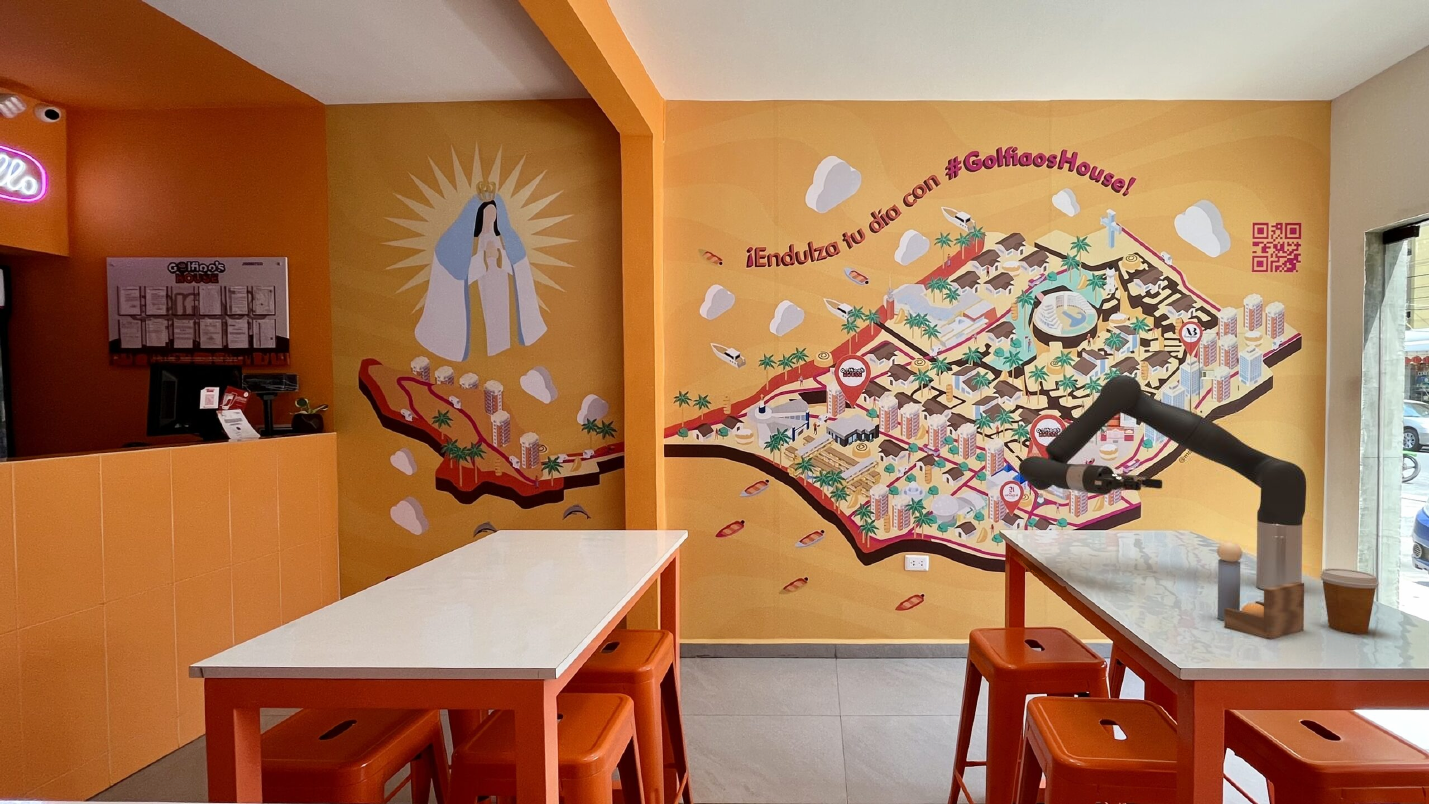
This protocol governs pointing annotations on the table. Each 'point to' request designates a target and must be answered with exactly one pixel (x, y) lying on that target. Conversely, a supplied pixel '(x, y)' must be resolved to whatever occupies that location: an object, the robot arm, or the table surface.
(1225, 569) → the player figure
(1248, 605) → the ball
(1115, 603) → the table surface
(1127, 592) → the table surface
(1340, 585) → the disposable coffee cup
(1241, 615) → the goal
